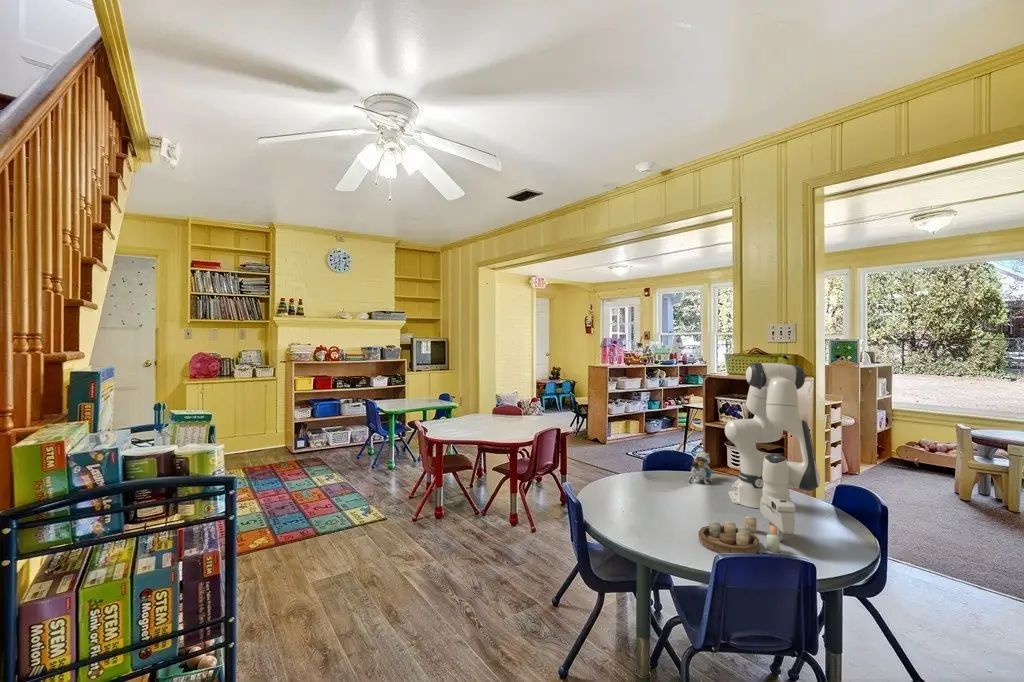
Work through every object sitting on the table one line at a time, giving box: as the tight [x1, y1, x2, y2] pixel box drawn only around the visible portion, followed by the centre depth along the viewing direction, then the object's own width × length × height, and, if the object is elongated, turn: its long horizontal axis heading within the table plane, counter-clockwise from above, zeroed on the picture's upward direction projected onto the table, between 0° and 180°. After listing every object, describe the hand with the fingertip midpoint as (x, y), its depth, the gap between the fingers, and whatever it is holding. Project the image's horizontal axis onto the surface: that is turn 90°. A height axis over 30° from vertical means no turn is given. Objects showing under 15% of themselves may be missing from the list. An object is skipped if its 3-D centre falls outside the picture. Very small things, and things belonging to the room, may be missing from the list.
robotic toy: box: [685, 450, 713, 485], centre depth 248 cm, size 13×17×15 cm
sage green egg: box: [766, 533, 781, 554], centre depth 166 cm, size 4×4×5 cm
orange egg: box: [769, 525, 783, 543], centre depth 174 cm, size 4×4×5 cm
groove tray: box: [698, 521, 760, 554], centre depth 171 cm, size 20×20×6 cm
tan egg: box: [744, 515, 757, 534], centre depth 183 cm, size 4×4×5 cm
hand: (776, 535), depth 174 cm, fingers closed on orange egg, 4 cm apart
